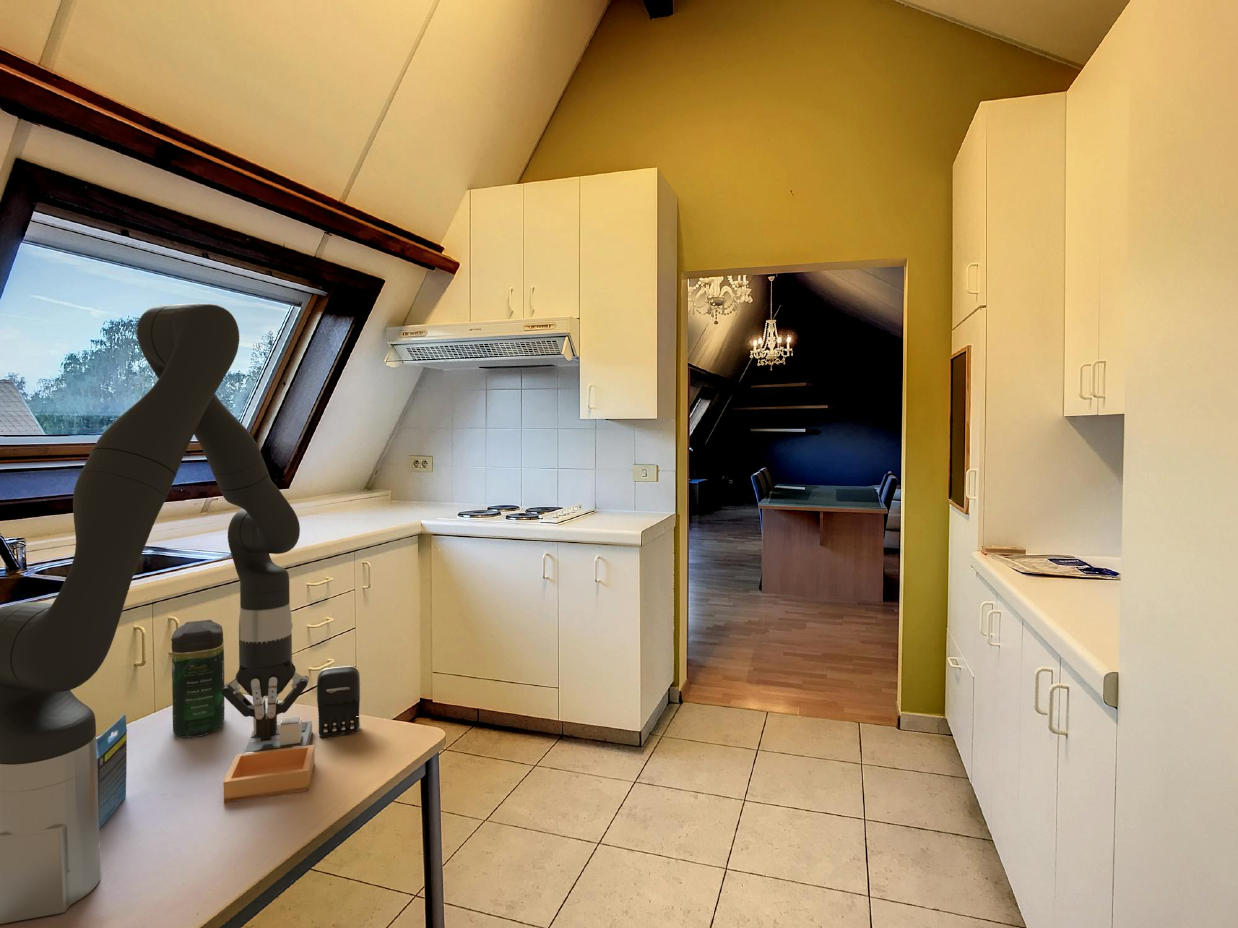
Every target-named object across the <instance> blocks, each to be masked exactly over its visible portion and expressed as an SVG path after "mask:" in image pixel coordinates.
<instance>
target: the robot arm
mask: <svg viewBox="0 0 1238 928" xmlns="http://www.w3.org/2000/svg"><path fill="white" fill-rule="evenodd" d="M136 338H137V342H138V345H139V347H140V350H141V352H142V354H143V356H144V357H145V360H146V362H147V363H148V364H149V366H150V368H151V370H152V371H153V373H154V375H156V377H157V380H156V382H155V384H154V385H153V386H152V388H151V389H149V391H148V392H147V393H146V394H145V395H144V396H142V397H141V398H140V399H139V400H138V401H136V403H134V404H133V405H132V406H131V407H129V409H127V410H126V411H125V412H124V413H123V414H122V415H120V416H119V417H118V418H117V419H116V420H115V421H114V422H113V423H112V424H111V425H110V426H109V427H108V428H107V429H106V430H105V431H104V432H103V433H102V434H101V435H100V437H99V438H98V439H97V441H96V443H95V444H94V446H93V447H92V449H91V451H90V454H89V456H88V458H87V459H86V461H85V464H84V466H83V467H82V469H81V471H80V474H79V475H78V478H77V480H76V482H75V486H74V488H73V489H74V490H73V495H72V513H73V524H74V532H75V549H74V550H75V551H74V555H73V559H72V563H71V565H70V568H69V571H68V572H67V575H66V577H65V578H64V581H63V584H62V586H61V589H60V590H59V592H58V594H57V596H56V598H55V599H54V600H53V603H51V602H50V603H48V602H47V603H46V602H34V601H33V602H32V601H31V602H29V601H28V602H26V601H25V602H18V603H13V604H10V605H7V606H5V607H3V608H1V609H0V925H2V924H6V923H8V924H9V923H12V922H13V923H14V922H19V921H23V920H24V921H25V920H30V919H34V918H35V919H36V918H41V917H46V916H47V917H48V916H51V915H52V916H53V915H57V914H62V913H65V912H66V911H67V910H68V909H69V908H70V906H72V905H73V904H75V903H76V902H78V901H79V900H81V899H82V898H84V897H86V896H88V894H89V893H90V892H92V891H93V890H94V889H95V887H97V885H98V883H100V881H101V880H100V879H101V848H100V847H101V846H100V845H101V844H100V829H99V816H98V786H97V752H96V739H97V730H96V729H97V724H96V715H95V713H94V711H93V710H92V708H90V707H89V706H88V705H86V704H85V703H84V702H82V701H81V700H79V698H77V697H76V696H75V694H73V692H72V690H74V689H76V688H79V687H80V686H82V685H83V684H85V683H87V682H88V681H89V680H90V679H91V678H92V677H93V676H94V675H95V674H96V673H97V672H98V670H99V669H100V667H101V666H102V665H103V664H104V661H105V659H106V657H107V655H108V653H109V651H110V649H111V646H112V644H113V641H114V639H115V635H116V632H117V630H118V629H117V628H118V626H119V624H120V623H119V622H120V619H121V616H122V614H123V613H122V612H123V610H124V606H125V603H126V599H127V596H128V593H129V590H130V587H131V585H132V582H133V581H132V580H133V579H134V578H133V577H134V576H135V572H136V569H137V567H138V564H139V562H140V559H141V557H142V554H143V552H144V549H145V547H146V545H147V542H148V540H149V537H150V535H151V532H152V529H153V527H154V525H155V522H156V520H157V518H158V516H159V514H160V512H161V510H162V508H163V505H164V504H165V503H166V499H167V497H168V495H169V493H170V490H171V488H172V486H173V483H174V482H175V479H176V476H177V475H178V471H179V469H180V466H181V463H182V461H183V458H184V457H185V454H186V452H187V450H188V448H189V446H190V444H191V441H192V439H193V437H195V439H196V440H197V442H198V444H199V446H200V447H201V450H202V452H203V454H204V456H205V458H206V461H207V462H208V465H209V468H210V470H211V472H212V475H213V477H214V479H215V482H216V484H217V486H218V489H219V491H220V493H221V495H222V497H223V499H224V500H225V501H226V502H227V503H229V504H232V505H233V506H237V507H239V508H241V509H240V510H238V511H237V512H236V513H235V514H234V515H233V516H232V518H231V519H230V522H229V524H228V529H227V543H228V547H229V551H230V554H231V557H232V561H233V564H234V568H235V572H236V574H237V576H238V579H239V583H240V585H239V596H240V597H239V600H240V601H239V604H240V605H239V607H240V608H239V609H240V611H239V616H238V661H239V663H238V665H239V666H238V671H237V672H236V674H235V678H234V679H232V680H231V681H230V682H227V683H224V687H223V689H222V691H221V694H222V695H223V696H224V699H226V700H227V701H228V702H229V703H230V704H231V705H232V706H233V707H234V708H235V709H236V710H237V711H238V712H239V713H240V714H241V715H242V716H243V717H246V718H248V717H252V718H253V717H254V718H255V719H256V736H257V738H261V741H268V740H271V739H272V736H275V733H276V731H277V725H278V715H280V714H285V713H287V711H288V710H289V709H290V708H291V707H292V706H293V704H294V703H295V701H296V700H297V699H298V698H299V697H300V695H301V694H302V693H303V691H304V690H305V689H306V688H307V686H308V683H309V678H310V677H309V676H308V675H302V674H300V673H298V672H297V671H296V670H297V669H296V666H295V665H294V663H293V651H292V650H293V641H292V640H293V636H292V635H293V631H292V630H293V622H292V618H293V617H292V611H291V604H290V602H291V601H290V598H291V597H290V574H289V572H288V570H287V569H286V568H284V567H282V566H280V565H277V564H275V563H274V561H272V558H271V555H282V554H285V553H288V552H290V551H291V550H293V549H294V548H295V546H296V545H297V544H298V542H299V539H300V533H301V525H300V520H299V518H298V516H297V513H296V511H295V510H294V509H293V506H291V504H290V503H289V502H288V500H287V499H286V498H285V495H283V493H282V492H281V490H280V489H279V488H278V487H277V485H276V484H275V483H274V482H273V481H272V478H271V476H270V473H269V471H268V468H267V465H266V463H265V460H264V457H263V454H262V452H261V450H260V448H259V446H258V443H257V442H256V441H255V439H254V437H253V436H252V434H251V433H250V432H249V430H248V429H247V428H246V427H245V426H244V425H243V423H241V422H240V420H238V418H237V417H235V415H234V414H232V412H231V411H230V410H229V409H228V408H227V407H226V406H225V405H224V404H223V402H222V401H221V400H220V398H219V397H218V396H217V394H216V392H217V390H218V389H219V387H220V386H221V384H222V382H223V381H224V380H225V377H226V376H227V374H228V372H229V370H230V368H231V366H232V364H233V363H234V361H235V359H236V357H237V354H238V351H239V345H240V330H239V326H238V323H237V320H236V319H235V317H234V315H233V314H232V313H231V312H230V311H229V310H228V309H226V308H225V307H223V306H220V305H218V304H213V303H207V302H201V303H200V302H198V303H197V302H196V303H195V302H194V303H193V302H192V303H177V304H176V303H175V304H166V305H158V306H153V307H150V308H148V309H147V310H146V311H145V312H144V313H143V314H142V315H141V316H140V317H139V320H138V322H137V325H136ZM270 554H271V555H270ZM291 680H292V683H291V690H290V691H289V692H288V694H287V695H286V696H285V698H283V700H282V701H281V702H279V697H280V694H281V693H282V692H283V691H284V690H285V689H286V687H287V685H288V684H289V683H290V682H291ZM242 689H244V690H245V692H246V693H247V694H248V695H249V696H251V697H252V702H251V701H250V700H249V699H248V698H247V697H246V696H245V695H244V694H243V693H242V692H241V690H242ZM266 697H267V704H266ZM266 708H268V709H267V714H266Z"/></svg>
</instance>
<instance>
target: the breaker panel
mask: <svg viewBox="0 0 1238 928" xmlns="http://www.w3.org/2000/svg"><path fill="white" fill-rule="evenodd" d="M279 725H280V724H277V731H276V733H275V736H272V739H271V740H268V741H261V738H257V736H256V734H255V735H254V729H253V730H252V732H251V734H250V737H249V739H248V741H247V744H246V745H245V748H244V751H243V753H242V754H245V753H253V752H261V751H269V750H277V749H285V748H293V747H301V746H308V745H310V742H311V739H312V735H311V734H312V733H313V721H312V720H309V721H302V738H301V741H300V743H295V744H287V745H280V740H279Z"/></svg>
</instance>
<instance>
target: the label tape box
mask: <svg viewBox="0 0 1238 928" xmlns="http://www.w3.org/2000/svg"><path fill="white" fill-rule="evenodd" d="M126 717H127V716H126V713H124V714H123V715H122V716H121V717H120V718H119V719H118V720H116V722H114V723H113V725H111V726H110V727H108V729H106V730H105V731H104V732H103V733H102V734H100V735H99V736H98V737H96V752H97V786H98V816H99V830H100V829H101V827H102V826H103V825H104V824H105V822H106V821H107V820H108V819H109V818H110V816H112V814H113V813H114V811H116V809H117V808H118V806H120V804H121V803H122V802H123V801H124V799H125V798H126V796H127V765H128V764H127V760H128V759H127V756H128V754H127V751H128V750H127V749H128V748H127V743H128V742H127V739H128V738H127V736H128V733H127V732H128V729H127V728H128V727H127V718H126ZM112 733H113V734H115V733H116V734H115V735H113V736H112Z"/></svg>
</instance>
